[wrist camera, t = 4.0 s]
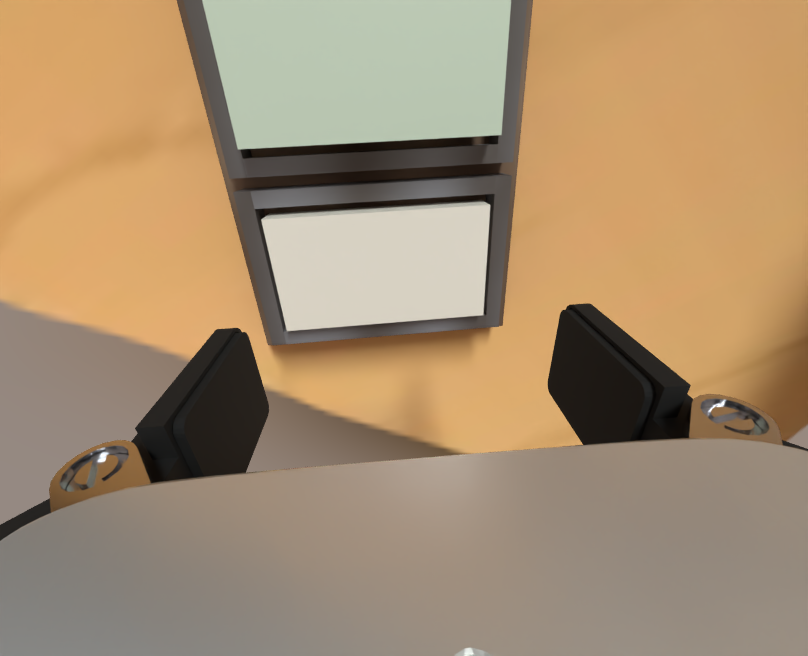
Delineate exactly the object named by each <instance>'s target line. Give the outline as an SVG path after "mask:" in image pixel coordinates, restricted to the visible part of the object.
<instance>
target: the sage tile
mask: <svg viewBox="0 0 808 656" xmlns="http://www.w3.org/2000/svg"><path fill="white" fill-rule="evenodd" d="M202 2H203V6H204V10H205V14H206V18H207V22H208V27H209V31H210V35H211V39H212V43H213V48H214V52H215V56H216V60H217V64H218V68H219V73H220V77H221V81H222V85H223V89H224V94H225V98H226V102H227V106H228V110H229V114H230V119H231V123H232V127H233V131H234V135H235V139H236V144H237V148H238V149H256V148H274V147H292V146H311V145H329V144H347V143H365V142H384V141H402V140H420V139H439V138H457V137H475V136H494V135H502V121H503V107H504V93H505V79H506V65H507V52H508V38H509V24H510V10H511V0H202Z"/></svg>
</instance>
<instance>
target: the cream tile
mask: <svg viewBox="0 0 808 656" xmlns="http://www.w3.org/2000/svg"><path fill="white" fill-rule="evenodd" d="M489 218H490V204H488V203H486V202H484V201H482V200H472V201H456V202H440V203H425V204H409V205H394V206H378V207H363V208H347V209H331V210H316V211H300V212H285V213H269V214H268V215H267V216H266V217H264V218H263V219H262V220H261V221H262V226H263V230H264V234H265V239H266V243H267V247H268V252H269V256H270V260H271V265H272V269H273V273H274V278H275V282H276V286H277V291H278V295H279V299H280V304H281V308H282V312H283V317H284V321H285V325H286V330H287V331H296V330H308V329H320V328H332V327H345V326H357V325H369V324H381V323H394V322H406V321H418V320H431V319H443V318H455V317H467V316H480V315H483V312H484V296H485V281H486V265H487V249H488V234H489Z"/></svg>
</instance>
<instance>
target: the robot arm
mask: <svg viewBox="0 0 808 656" xmlns="http://www.w3.org/2000/svg"><path fill="white" fill-rule="evenodd" d="M690 386H691V385H690V384H688V383H687V382H686V381H685V380H683V379H682V378H681V377H680V376H679V375H677V374H676V373H675V372H674V371H672V370H671V369H670V368H669V367H668V366H666V365H665V364H664V363H663V362H661V361H660V360H659V359H658V358H656V357H655V356H654V355H653V354H652V353H650V352H649V351H648V350H647V349H645V348H644V347H643V346H642V345H641V344H639V343H638V342H637V341H636V340H634V339H633V338H632V337H631V336H629V335H628V334H627V333H626V332H625V331H623V330H622V329H621V328H620V327H618V326H617V325H616V324H615V323H614V322H612V321H611V320H610V319H609V318H607V317H606V316H605V315H604V314H602V313H601V312H600V311H599V310H598V309H596V308H595V307H594V306H593V305H591V304H575V305H569V306H567V308H566V310H563V311H562V312H561V314H560V318H559V324H558V329H557V334H556V340H555V345H554V351H553V356H552V362H551V367H550V373H549V378H548V390H549V393H550V394H551V396H552V398H553V399H554V401H555V402H556V404H557V405H558V407H559V408H560V410H561V411H562V413H563V414H564V416H565V417H566V419H567V421H568V422H569V424H570V425H571V427H572V428H573V430H574V431H575V433H576V434H577V436H578V437H579V439H580V440H581V442H582V444H583V445H576V446H563V447H550V448H537V449H525V450H513V451H500V452H488V453H476V454H464V455H452V456H440V457H427V458H415V459H404V460H392V461H378V462H366V463H354V464H342V465H329V466H319V467H306V468H295V469H284V470H273V471H261V472H249V473H246V470H247V468H248V465H249V462H250V460H251V457H252V455H253V452H254V450H255V447H256V444H257V442H258V439H259V437H260V434H261V432H262V429H263V427H264V424H265V422H266V419H267V416H268V413H269V405H268V401H267V397H266V394H265V390H264V387H263V384H262V380H261V377H260V374H259V370H258V367H257V364H256V360H255V357H254V353H253V350H252V347H251V343H250V340H249V337H248V335H247V333H245V332H241V330H240V329H239V328H229V329H217V330H216V331H215V332H214V333H213V334H212V335H211V337H210V338H209V339H208V340H207V341H206V343H205V344H204V345H203V346H202V347H201V349H200V350H199V351H198V352H197V354H196V355H195V356H194V357H193V358H192V360H191V361H190V362H189V363H188V365H187V366H186V367H185V368H184V369H183V371H182V372H181V373H180V374H179V375H178V377H177V378H176V379H175V380H174V382H173V383H172V384H171V385H170V386H169V388H168V389H167V390H166V391H165V393H164V394H163V395H162V397H160V399H159V400H158V401H157V402H156V404H155V405H154V406H153V407H152V408H151V410H150V411H149V412H148V413H147V414H146V416H145V417H144V418H143V419H142V420H141V422H140V423H139V424H138V425H137V427H136V428H135V429H136V431H137V433H138V434H137V435H136V436H135V438H134V439H133V440H132V441H131V442H130V441H126V440H117V441H111V442H107V443H103V444H100V445H97V446H95V447H92V448H90V449H88V450H86V451H84V452H83V453H81V454H79V455H77V456H76V457H74V458H73V459H72V460H70V461H69V462H67V463H66V464H65V465H64V466H63V467H62V468H61V469H60V470H59V471H58V472H57V473H56V475H55V476H54V477H53V479H52V481H51V483H50V488H49V494H50V499H48V500H46V501H44V502H42V503H41V504H38V505H37V506H35V507H33V508H31V509H29V510H27V511H25V512H24V513H22V514H20V515H18V516H16V517H14V518H12V519H11V520H9V521H7V522H5V523H3V524H1V525H0V656H808V449H806V448H803V447H800V446H797V445H795V444H791V443H789V442H786V441H783V440H782V439H781V434H780V429H779V427H778V426H777V424H776V422H775V421H774V420H773V419H772V418H771V417H770V416H769V415H768V414H766V413H765V412H763V411H762V410H760V409H759V408H757V407H755V406H753V405H751V404H749V403H747V402H744V401H741V400H738V399H736V398H733V397H728V396H723V395H716V394H705V395H700V396H698V397H696V398H694V400H693V399H692V398H691V397H690V396H689V395H688V394H687V393H688V390H689V388H690Z"/></svg>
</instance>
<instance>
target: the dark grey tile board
mask: <svg viewBox="0 0 808 656" xmlns="http://www.w3.org/2000/svg"><path fill="white" fill-rule="evenodd" d="M177 3H178V7H179V11H180V15H181V18H182V22H183V26H184V30H185V33H186V37H187V41H188V45H189V49H190V52H191V56H192V60H193V64H194V67H195V71H196V75H197V79H198V82H199V86H200V90H201V94H202V98H203V101H204V105H205V109H206V113H207V116H208V120H209V124H210V128H211V132H212V135H213V139H214V143H215V147H216V150H217V154H218V158H219V162H220V166H221V169H222V173H223V177H224V181H225V184H226V188H227V192H228V196H229V200H230V203H231V207H232V211H233V215H234V218H235V222H236V226H237V230H238V233H239V237H240V241H241V245H242V249H243V252H244V256H245V260H246V264H247V267H248V271H249V275H250V279H251V283H252V286H253V290H254V294H255V298H256V301H257V305H258V309H259V313H260V317H261V320H262V324H263V328H264V332H265V335H266V339H267V343H268V345H283V344H295V343H307V342H319V341H331V340H343V339H355V338H367V337H379V336H391V335H403V334H415V333H427V332H439V331H451V330H463V329H475V328H487V327H499V326H502V325H503V314H504V303H505V293H506V282H507V271H508V261H509V250H510V239H511V229H512V218H513V207H514V197H515V186H516V175H517V165H518V154H519V143H520V133H521V122H522V111H523V101H524V90H525V79H526V69H527V58H528V47H529V37H530V26H531V15H532V5H533V0H511V10H510V24H509V38H508V52H507V65H506V79H505V93H504V107H503V121H502V135H494V136H475V137H457V138H439V139H420V140H402V141H384V142H365V143H347V144H329V145H311V146H292V147H274V148H256V149H238V148H237V144H236V139H235V135H234V131H233V127H232V123H231V119H230V114H229V110H228V106H227V102H226V98H225V94H224V89H223V85H222V81H221V77H220V73H219V68H218V64H217V60H216V56H215V52H214V48H213V43H212V39H211V35H210V31H209V27H208V22H207V18H206V14H205V10H204V6H203V2H202V0H177ZM472 200H482V201H484V202H486V203H488V204H490V218H489V234H488V249H487V265H486V281H485V296H484V312H483V315H480V316H467V317H455V318H443V319H431V320H418V321H406V322H394V323H381V324H369V325H357V326H345V327H332V328H320V329H308V330H296V331H287V330H286V325H285V321H284V317H283V312H282V308H281V304H280V299H279V295H278V291H277V286H276V282H275V278H274V273H273V269H272V265H271V260H270V256H269V252H268V247H267V243H266V239H265V234H264V230H263V226H262V221H261V220H262V219H263V218H264V217H266V216H267V215H268V214H269V213H285V212H300V211H316V210H331V209H347V208H363V207H378V206H394V205H409V204H425V203H440V202H456V201H472Z"/></svg>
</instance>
